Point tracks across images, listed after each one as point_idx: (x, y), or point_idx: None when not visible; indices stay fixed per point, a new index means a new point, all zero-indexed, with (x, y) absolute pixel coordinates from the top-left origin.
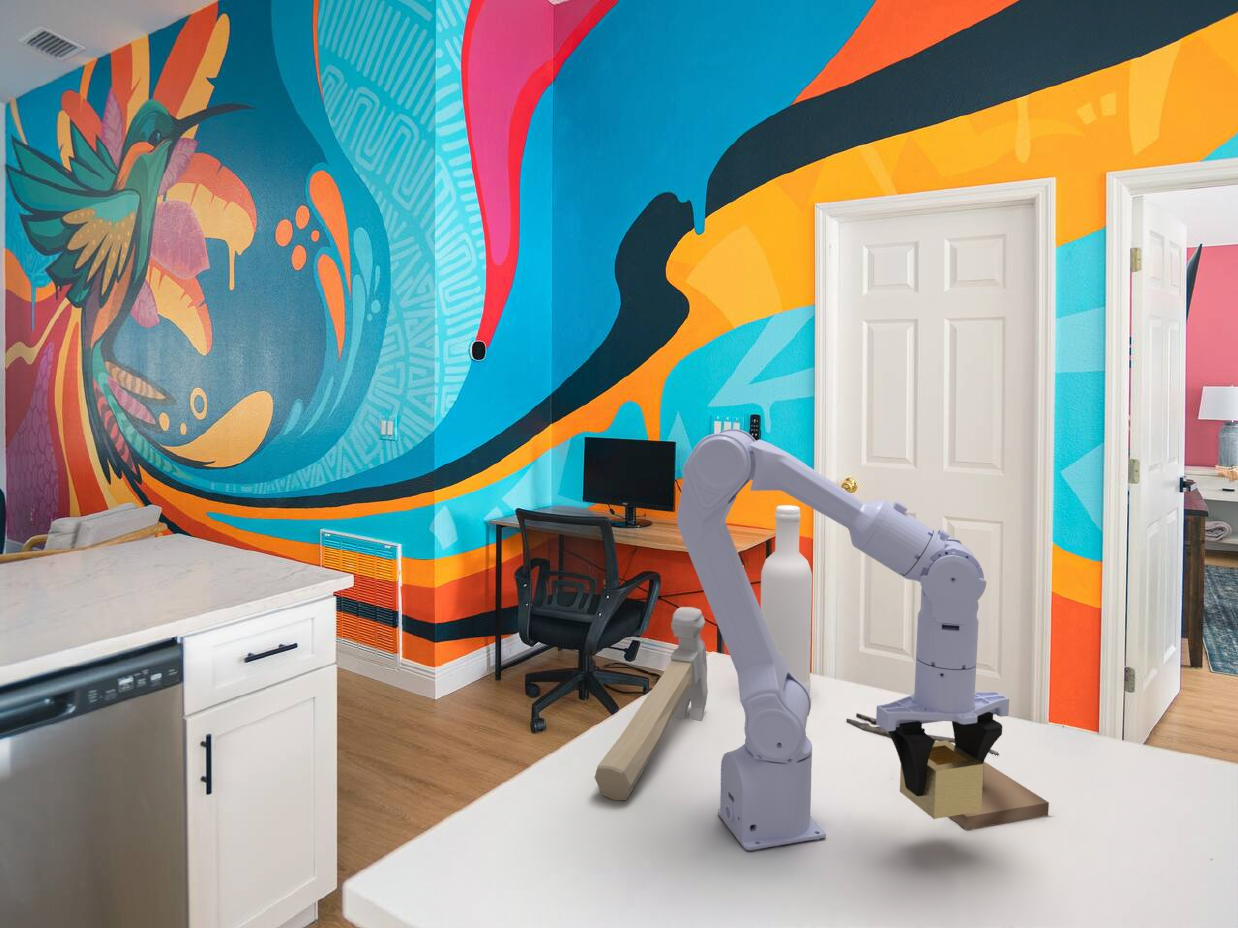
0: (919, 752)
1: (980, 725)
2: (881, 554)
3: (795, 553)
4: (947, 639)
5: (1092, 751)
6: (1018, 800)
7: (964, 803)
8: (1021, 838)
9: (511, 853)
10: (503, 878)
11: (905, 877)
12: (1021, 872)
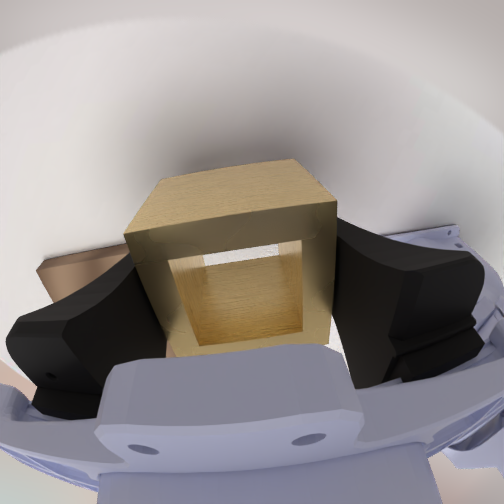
0: (418, 249)
1: (84, 369)
2: None
3: None
4: None
5: (3, 347)
6: (67, 279)
7: (206, 177)
8: (89, 211)
9: None
10: None
11: (323, 131)
12: (128, 123)
